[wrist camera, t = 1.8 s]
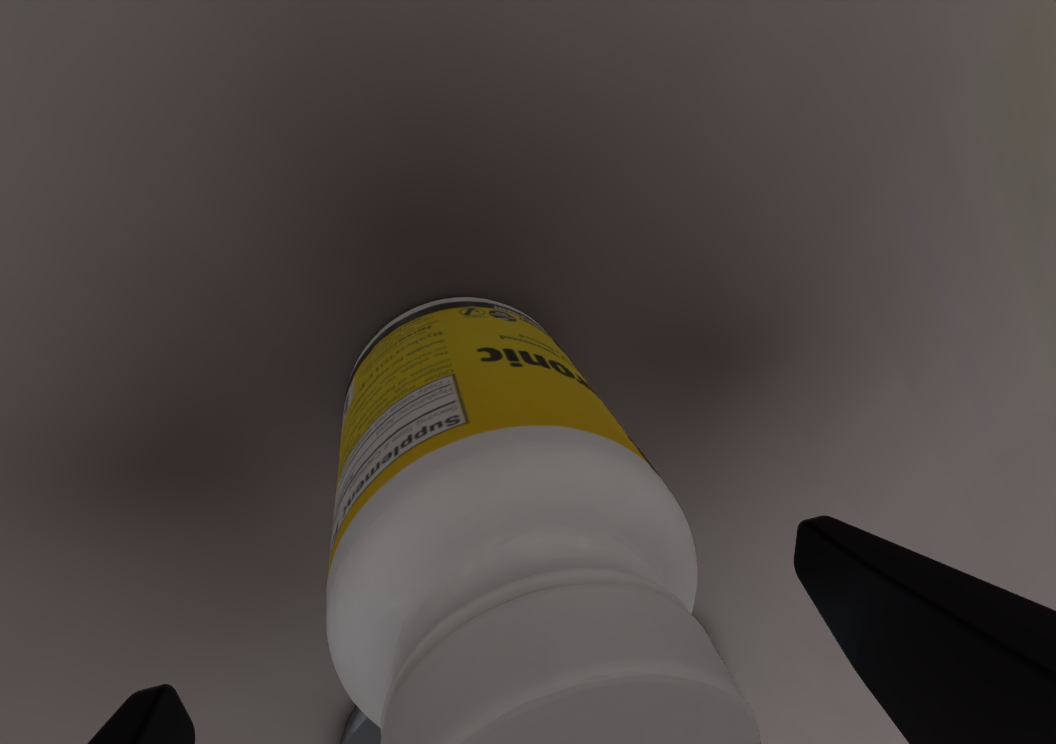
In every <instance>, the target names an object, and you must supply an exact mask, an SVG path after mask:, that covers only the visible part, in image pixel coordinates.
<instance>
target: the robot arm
mask: <svg viewBox="0 0 1056 744" xmlns="http://www.w3.org/2000/svg"><path fill="white" fill-rule="evenodd" d="M794 567H795V571H796V574H797V576H798V578H799V580H800V581H801V583H802V585H803V586H804V588H805V590H806V591H807V593H808V595H809V596H810V598H811V599H812V601H813V603H814V604H815V606H816V608H817V609H818V611H819V613H820V614H821V616H822V618H823V619H824V621H825V623H826V624H827V626H828V627H829V629H830V631H831V632H832V634H833V636H834V637H835V639H836V641H837V642H838V644H839V646H840V647H841V649H842V650H843V652H844V654H845V655H846V657H847V658H848V660H849V661H850V663H851V665H852V666H853V668H854V669H855V671H856V672H857V673H858V675H859V676H860V678H861V679H862V680H863V682H864V683H865V685H866V686H867V687H868V689H869V690H870V691H871V693H872V694H873V695H874V697H875V698H876V699H877V701H878V702H879V703H880V705H881V706H882V707H883V709H884V710H885V712H886V713H887V714H888V716H889V717H890V718H891V720H892V721H893V722H894V724H895V725H896V726H897V728H898V729H899V730H900V732H901V733H902V734H903V736H904V737H905V738H906V740H907V741H908V742H909V744H1056V611H1055V610H1053V609H1050V608H1048V607H1045V606H1043V605H1041V604H1038V603H1036V602H1033V601H1031V600H1029V599H1026V598H1024V597H1021V596H1019V595H1017V594H1014V593H1012V592H1009V591H1007V590H1005V589H1002V588H1000V587H998V586H995V585H993V584H990V583H988V582H986V581H983V580H981V579H978V578H976V577H974V576H971V575H969V574H966V573H964V572H962V571H959V570H957V569H954V568H952V567H950V566H947V565H945V564H943V563H940V562H938V561H935V560H933V559H931V558H928V557H926V556H923V555H921V554H919V553H916V552H914V551H911V550H909V549H907V548H904V547H902V546H899V545H897V544H895V543H892V542H890V541H888V540H885V539H883V538H880V537H878V536H876V535H873V534H871V533H868V532H866V531H864V530H861V529H859V528H856V527H854V526H852V525H849V524H847V523H844V522H842V521H840V520H837V519H835V518H832V517H830V516H818V517H814V518H810V519H807V520H803V521H802V522H801V523H800V524H799V525H798V529H797V537H796V545H795V553H794ZM88 744H195V730H194V726H193V723H192V720H191V719H190V717H189V715H188V713H187V711H186V709H185V707H184V705H183V703H182V702H181V700H180V698H179V696H178V694H177V692H176V690H175V689H174V688H173V687H172V686H171V685H169V684H163V685H159V686H155V687H151V688H147V689H144V690H140V691H137V692H135V693H134V694H132V695H131V696H130V697H129V698H128V699H127V700H126V701H125V702H124V703H123V704H122V705H121V707H120V708H119V709H118V710H117V711H116V712H115V713H114V714H113V716H112V717H111V718H110V719H109V720H108V721H107V722H106V723H105V725H104V726H103V727H102V728H101V729H100V730H99V731H98V732H97V734H96V735H95V736H94V737H93V738H92V739H91V740H90V741H89V742H88Z"/></svg>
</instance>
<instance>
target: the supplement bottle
mask: <svg viewBox="0 0 1056 744" xmlns="http://www.w3.org/2000/svg"><path fill="white" fill-rule="evenodd" d="M697 577H698V574H697V557H696V551H695V547H694V542H693V538H692V535H691V531H690V528H689V526H688V523H687V521H686V518H685V516H684V514H683V512H682V510H681V508H680V506H679V505H678V503H677V501H676V500H675V498H674V496H673V495H672V493H671V492H670V490H669V489H668V488H667V486H666V485H665V483H664V482H663V480H662V479H661V478H660V476H659V475H658V473H657V472H656V470H655V469H654V468H653V466H652V465H651V464H650V462H649V461H648V460H647V459H646V457H645V456H644V455H643V453H642V452H641V451H640V449H639V448H638V447H637V446H636V445H635V444H634V443H633V441H632V440H631V439H630V438H629V437H628V435H627V434H626V433H625V431H624V430H623V429H622V427H621V426H620V425H619V424H618V422H617V421H616V419H615V418H614V417H613V415H612V414H611V413H610V412H609V410H608V409H607V408H606V406H605V405H604V403H603V402H602V401H601V400H600V398H599V397H598V396H597V395H596V393H595V392H594V391H593V389H592V388H591V387H590V385H589V384H588V383H587V381H586V380H585V379H584V378H583V376H582V375H581V374H580V373H579V371H578V370H577V369H576V368H575V366H574V365H573V364H572V362H571V361H570V360H569V358H568V357H567V355H566V354H565V353H564V352H563V350H562V349H561V348H560V347H559V345H558V344H557V343H556V342H555V341H554V339H553V338H552V337H551V336H550V335H549V334H548V333H547V332H546V331H545V330H544V329H543V328H542V327H541V326H540V325H539V324H538V323H537V322H536V321H534V320H533V319H532V318H530V317H529V316H527V315H526V314H524V313H523V312H521V311H519V310H517V309H515V308H513V307H511V306H508V305H506V304H502V303H499V302H496V301H492V300H488V299H483V298H474V297H454V298H447V299H441V300H437V301H432V302H429V303H426V304H423V305H421V306H418V307H416V308H413V309H411V310H409V311H408V312H406V313H404V314H402V315H400V316H399V317H397V318H396V319H394V320H393V321H391V322H390V323H388V324H387V325H386V326H385V327H384V328H383V329H381V330H380V331H379V332H378V334H377V335H376V336H375V337H374V338H373V339H372V340H371V341H370V342H369V343H368V345H367V346H366V347H365V349H364V350H363V351H362V353H361V355H360V356H359V358H358V360H357V362H356V364H355V366H354V368H353V371H352V373H351V376H350V379H349V382H348V386H347V390H346V396H345V402H344V412H343V420H342V432H341V444H340V455H339V467H338V477H337V487H336V497H335V505H334V517H333V528H332V538H331V545H330V557H329V567H328V576H327V585H326V602H327V603H326V631H327V639H328V645H329V651H330V654H331V658H332V662H333V665H334V668H335V670H336V673H337V675H338V677H339V679H340V681H341V683H342V685H343V687H344V688H345V690H346V692H347V693H348V695H349V696H350V698H351V700H352V701H353V702H354V703H355V704H356V705H357V706H358V708H359V709H360V710H361V711H362V712H363V713H364V714H365V715H366V716H367V717H368V718H369V719H370V720H371V721H372V722H374V723H375V724H376V725H377V726H378V727H380V728H381V744H761V742H760V734H759V729H758V726H757V723H756V720H755V718H754V715H753V712H752V711H751V708H750V705H749V704H748V702H747V701H746V699H745V697H744V696H743V694H742V693H741V691H740V689H739V688H738V686H737V684H736V683H735V681H734V680H733V678H732V676H731V675H730V673H729V672H728V670H727V668H726V667H725V665H724V664H723V662H722V660H721V659H720V657H719V655H718V654H717V652H716V650H715V648H714V646H713V644H712V642H711V640H710V638H709V636H708V635H707V633H706V632H705V630H704V629H703V627H702V626H701V625H700V623H699V622H698V621H697V620H696V619H695V618H694V617H693V616H692V615H691V614H692V610H693V606H694V602H695V596H696V590H697Z"/></svg>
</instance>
